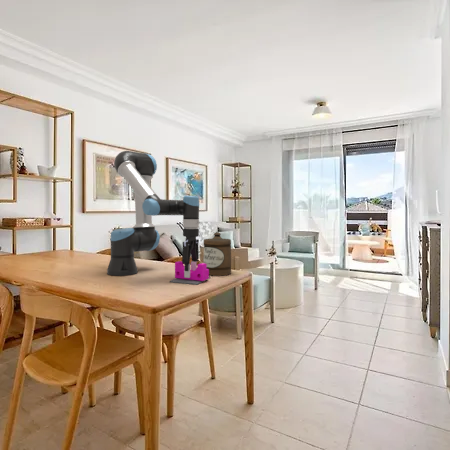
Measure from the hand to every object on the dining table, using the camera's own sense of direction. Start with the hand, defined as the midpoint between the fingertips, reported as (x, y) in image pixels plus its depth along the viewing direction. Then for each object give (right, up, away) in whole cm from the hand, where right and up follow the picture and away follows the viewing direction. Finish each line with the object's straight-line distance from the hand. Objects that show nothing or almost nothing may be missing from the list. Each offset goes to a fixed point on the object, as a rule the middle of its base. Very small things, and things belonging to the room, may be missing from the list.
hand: (190, 276), depth 156 cm
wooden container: (+12, -2, +18) cm, 22 cm away
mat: (0, -2, 0) cm, 2 cm away
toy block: (+1, -1, 0) cm, 1 cm away
